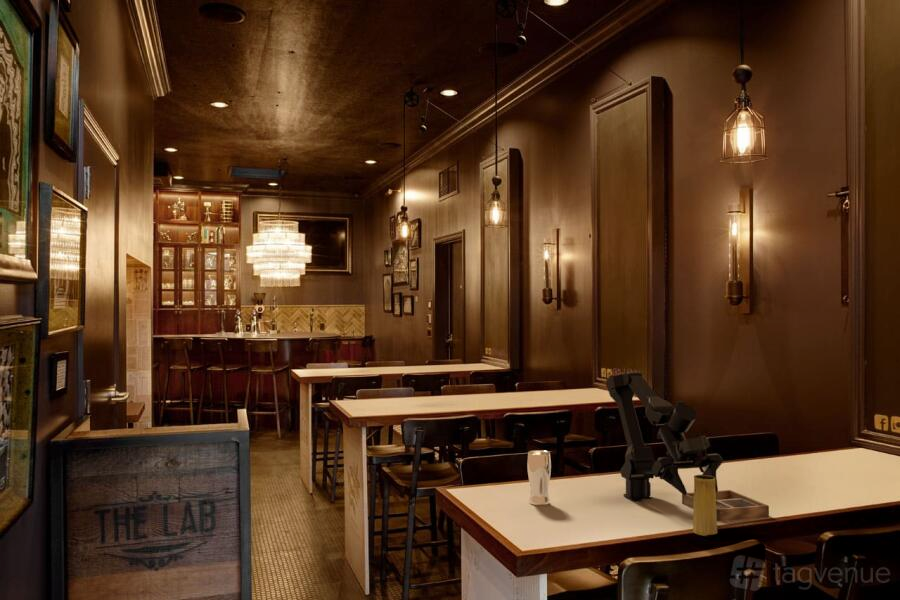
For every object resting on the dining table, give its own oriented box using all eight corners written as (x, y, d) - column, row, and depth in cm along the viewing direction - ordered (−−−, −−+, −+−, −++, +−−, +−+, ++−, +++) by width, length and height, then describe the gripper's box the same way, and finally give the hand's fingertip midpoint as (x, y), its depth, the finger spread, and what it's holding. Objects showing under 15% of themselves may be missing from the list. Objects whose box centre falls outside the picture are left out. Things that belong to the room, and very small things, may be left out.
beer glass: (532, 507, 197) (532, 455, 197) (524, 500, 203) (523, 450, 204) (554, 505, 199) (554, 454, 199) (545, 498, 205) (545, 449, 206)
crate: (717, 522, 182) (717, 509, 182) (682, 505, 198) (682, 493, 198) (768, 518, 185) (768, 505, 185) (730, 501, 202) (730, 489, 202)
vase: (711, 528, 177) (711, 474, 177) (721, 536, 171) (721, 479, 171) (688, 528, 176) (688, 474, 177) (698, 536, 170) (697, 480, 171)
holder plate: (734, 518, 184) (734, 509, 184) (714, 508, 193) (714, 500, 193) (763, 515, 186) (763, 506, 186) (742, 506, 195) (742, 498, 195)
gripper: (657, 427, 178) (682, 478, 167) (718, 423, 183) (746, 473, 172) (641, 451, 186) (664, 502, 175) (700, 447, 190) (726, 496, 179)
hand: (701, 493), depth 175 cm, fingers open, 9 cm apart
